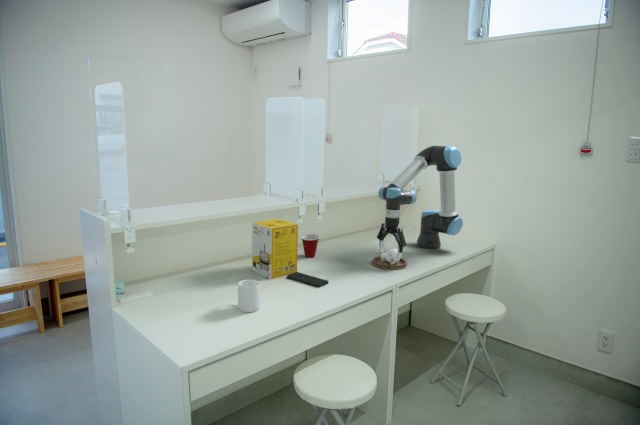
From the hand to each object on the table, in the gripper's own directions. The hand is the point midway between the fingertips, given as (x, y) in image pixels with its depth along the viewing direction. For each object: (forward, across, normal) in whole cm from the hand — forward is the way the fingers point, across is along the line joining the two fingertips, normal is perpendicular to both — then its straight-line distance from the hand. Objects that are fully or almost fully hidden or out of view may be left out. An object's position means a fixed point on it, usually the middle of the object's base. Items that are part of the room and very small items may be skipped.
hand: (390, 254), depth 232 cm
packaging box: (+5, -21, -60) cm, 64 cm away
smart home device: (+6, -1, -53) cm, 53 cm away
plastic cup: (+5, -34, -30) cm, 46 cm away
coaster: (+5, 0, 0) cm, 5 cm away
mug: (+5, +12, -91) cm, 92 cm away
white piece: (+5, 0, 0) cm, 5 cm away
